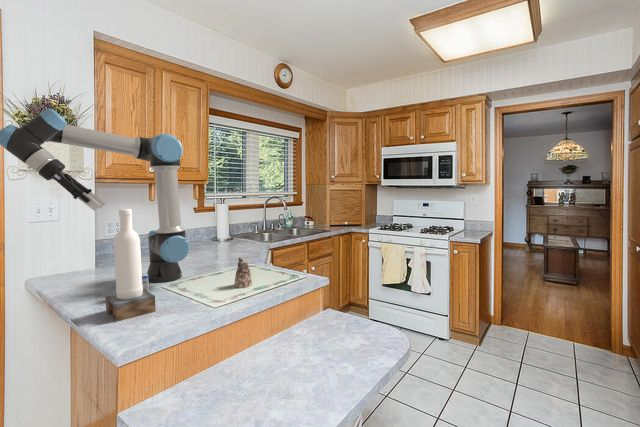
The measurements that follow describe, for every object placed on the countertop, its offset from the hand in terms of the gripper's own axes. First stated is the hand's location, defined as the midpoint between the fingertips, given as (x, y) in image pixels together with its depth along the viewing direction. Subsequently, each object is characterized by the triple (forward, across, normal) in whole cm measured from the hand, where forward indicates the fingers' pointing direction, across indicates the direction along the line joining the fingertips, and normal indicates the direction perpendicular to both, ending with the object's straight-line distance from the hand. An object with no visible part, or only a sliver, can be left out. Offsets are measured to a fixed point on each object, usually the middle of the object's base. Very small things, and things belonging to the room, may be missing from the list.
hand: (100, 207), depth 126 cm
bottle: (+28, +17, -15) cm, 36 cm away
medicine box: (+33, +1, -18) cm, 37 cm away
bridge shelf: (+32, +17, -19) cm, 41 cm away
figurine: (+62, +4, +11) cm, 63 cm away
